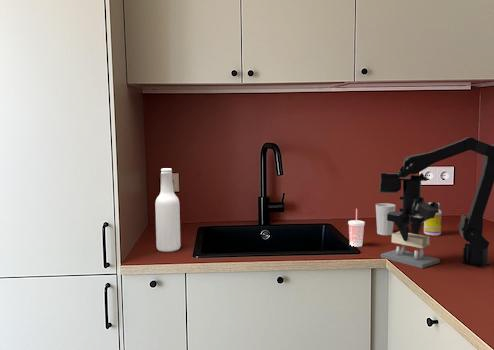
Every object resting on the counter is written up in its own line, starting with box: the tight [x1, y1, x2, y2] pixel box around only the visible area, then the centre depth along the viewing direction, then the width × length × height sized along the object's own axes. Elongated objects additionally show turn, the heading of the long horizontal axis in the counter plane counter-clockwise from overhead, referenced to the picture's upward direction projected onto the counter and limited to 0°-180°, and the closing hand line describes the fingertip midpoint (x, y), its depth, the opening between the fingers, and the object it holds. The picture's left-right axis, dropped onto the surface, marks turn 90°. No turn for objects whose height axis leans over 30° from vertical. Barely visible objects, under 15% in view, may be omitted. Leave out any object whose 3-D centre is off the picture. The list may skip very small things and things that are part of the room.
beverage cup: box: [347, 208, 366, 248], centre depth 184 cm, size 6×6×14 cm
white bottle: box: [154, 167, 182, 253], centre depth 180 cm, size 9×9×30 cm
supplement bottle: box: [423, 202, 443, 237], centre depth 200 cm, size 7×7×13 cm
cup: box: [375, 202, 397, 236], centre depth 202 cm, size 8×8×12 cm
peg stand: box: [380, 244, 440, 269], centre depth 165 cm, size 16×10×4 cm, turn 37°
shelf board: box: [391, 230, 431, 249], centre depth 164 cm, size 5×11×3 cm, turn 43°
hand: (410, 239), depth 164 cm, fingers closed on shelf board, 5 cm apart
